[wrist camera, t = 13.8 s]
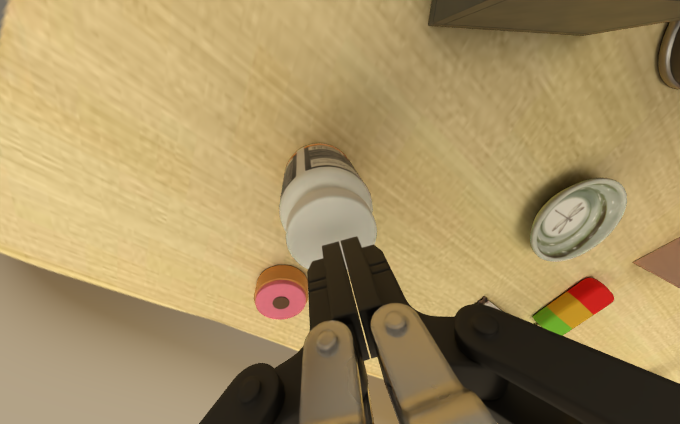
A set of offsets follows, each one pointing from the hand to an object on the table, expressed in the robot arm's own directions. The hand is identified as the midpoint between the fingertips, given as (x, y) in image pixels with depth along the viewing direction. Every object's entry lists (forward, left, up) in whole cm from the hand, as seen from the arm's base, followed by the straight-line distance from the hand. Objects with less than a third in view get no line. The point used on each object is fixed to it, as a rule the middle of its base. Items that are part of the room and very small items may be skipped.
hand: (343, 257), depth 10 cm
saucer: (-26, +6, -12) cm, 29 cm away
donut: (+4, +13, -12) cm, 18 cm away
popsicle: (-33, +23, -12) cm, 42 cm away
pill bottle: (0, +1, -12) cm, 12 cm away
